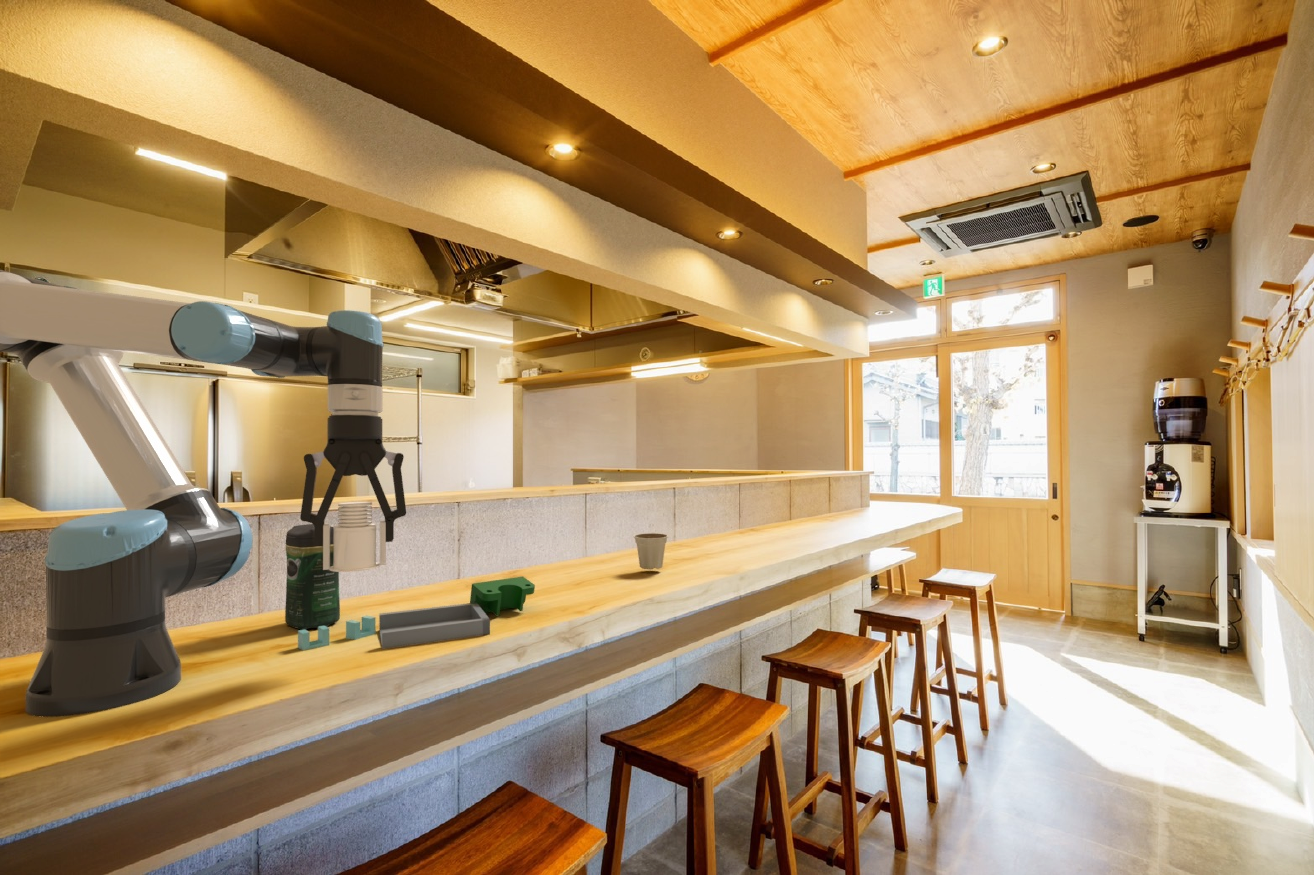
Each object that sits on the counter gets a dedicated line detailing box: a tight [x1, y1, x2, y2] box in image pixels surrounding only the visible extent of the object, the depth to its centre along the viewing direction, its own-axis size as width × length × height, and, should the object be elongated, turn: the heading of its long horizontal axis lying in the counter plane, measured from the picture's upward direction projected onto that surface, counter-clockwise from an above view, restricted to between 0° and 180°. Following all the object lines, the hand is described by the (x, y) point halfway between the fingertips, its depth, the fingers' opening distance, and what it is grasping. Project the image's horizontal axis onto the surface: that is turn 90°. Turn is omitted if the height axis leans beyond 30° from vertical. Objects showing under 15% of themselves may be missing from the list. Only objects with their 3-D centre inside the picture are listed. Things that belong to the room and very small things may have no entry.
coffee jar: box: [284, 523, 341, 630], centre depth 114 cm, size 10×8×19 cm
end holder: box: [378, 602, 491, 650], centre depth 108 cm, size 17×13×3 cm
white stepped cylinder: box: [329, 501, 381, 573], centre depth 93 cm, size 8×7×10 cm
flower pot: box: [633, 532, 669, 570], centre depth 165 cm, size 9×9×9 cm
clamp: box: [469, 576, 536, 616], centre depth 121 cm, size 12×6×9 cm, turn 127°
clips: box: [297, 615, 377, 651], centre depth 103 cm, size 12×3×3 cm, turn 141°
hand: (354, 565), depth 93 cm, fingers closed on white stepped cylinder, 7 cm apart
